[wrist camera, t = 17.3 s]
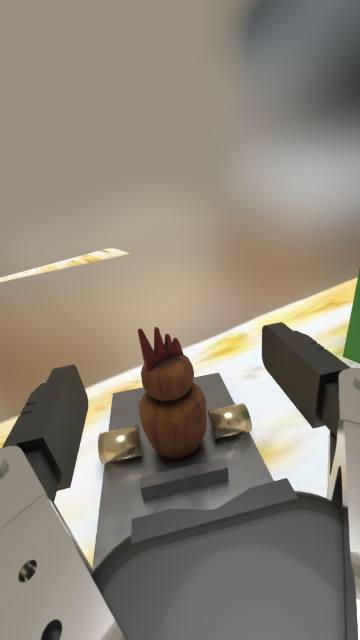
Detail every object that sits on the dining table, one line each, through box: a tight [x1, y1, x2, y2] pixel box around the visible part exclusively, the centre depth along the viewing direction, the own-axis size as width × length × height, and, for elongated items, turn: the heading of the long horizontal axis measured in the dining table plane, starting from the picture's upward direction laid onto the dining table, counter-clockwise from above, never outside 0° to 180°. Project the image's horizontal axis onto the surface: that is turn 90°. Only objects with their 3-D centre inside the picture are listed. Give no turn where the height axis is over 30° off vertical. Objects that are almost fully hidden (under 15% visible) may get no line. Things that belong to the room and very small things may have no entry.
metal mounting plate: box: [93, 373, 274, 571], centre depth 28 cm, size 16×21×4 cm
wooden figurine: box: [138, 327, 207, 458], centre depth 25 cm, size 7×6×15 cm
